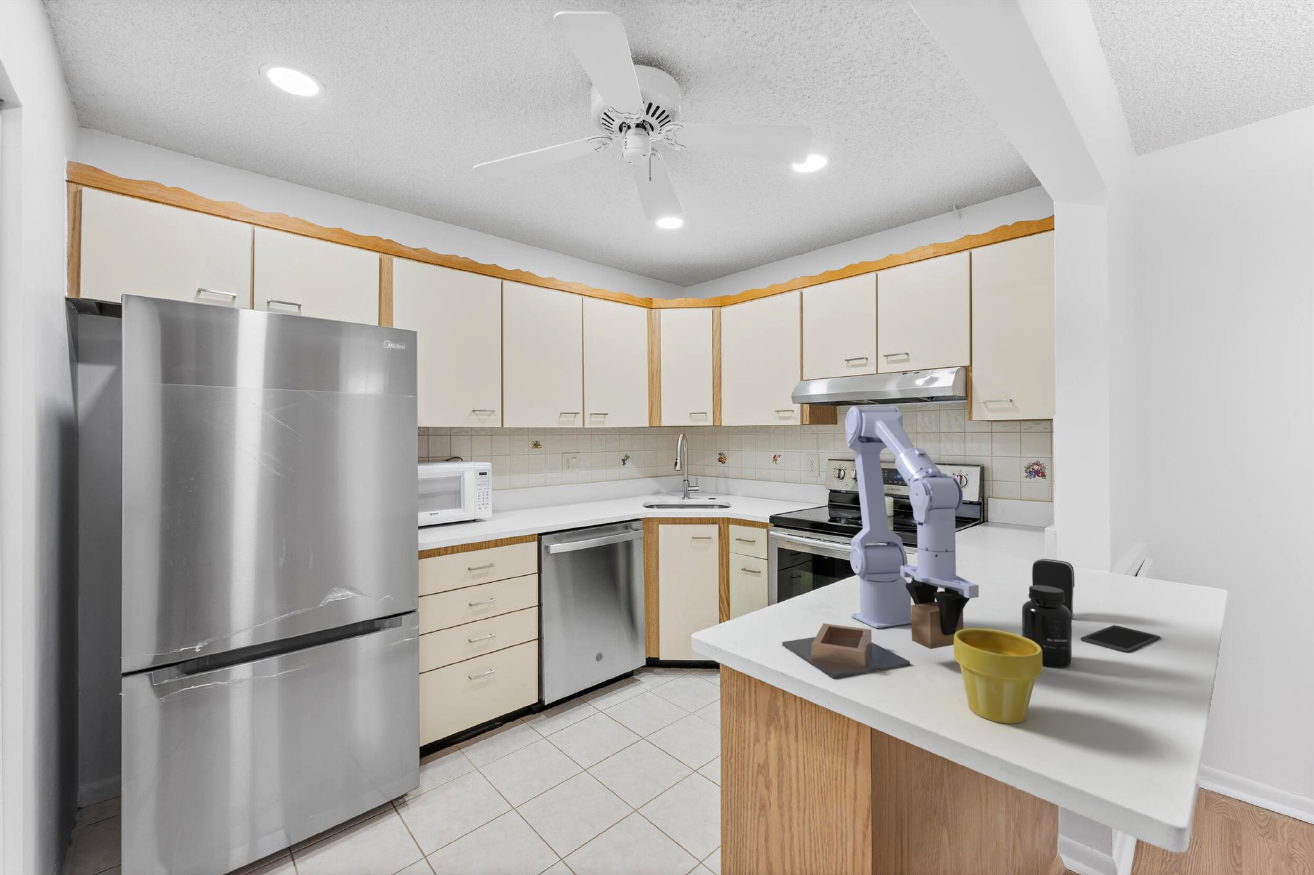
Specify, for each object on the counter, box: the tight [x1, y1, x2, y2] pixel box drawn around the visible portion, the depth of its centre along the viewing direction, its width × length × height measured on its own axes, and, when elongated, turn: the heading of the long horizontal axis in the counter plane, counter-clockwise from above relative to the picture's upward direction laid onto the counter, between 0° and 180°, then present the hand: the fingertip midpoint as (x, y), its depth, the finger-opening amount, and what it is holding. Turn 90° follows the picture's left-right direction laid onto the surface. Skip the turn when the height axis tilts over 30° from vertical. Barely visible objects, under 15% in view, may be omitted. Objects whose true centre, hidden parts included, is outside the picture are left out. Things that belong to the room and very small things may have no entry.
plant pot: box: [953, 627, 1043, 725], centre depth 75 cm, size 10×10×10 cm
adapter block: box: [911, 601, 964, 650], centre depth 92 cm, size 4×7×6 cm, turn 109°
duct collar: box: [781, 623, 911, 680], centre depth 96 cm, size 15×15×3 cm
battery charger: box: [1031, 558, 1075, 619], centre depth 115 cm, size 7×4×11 cm, turn 43°
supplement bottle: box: [1021, 584, 1073, 668], centre depth 92 cm, size 7×7×12 cm
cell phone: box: [1080, 624, 1162, 654], centre depth 101 cm, size 7×14×1 cm, turn 119°
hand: (937, 629), depth 92 cm, fingers closed on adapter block, 4 cm apart
